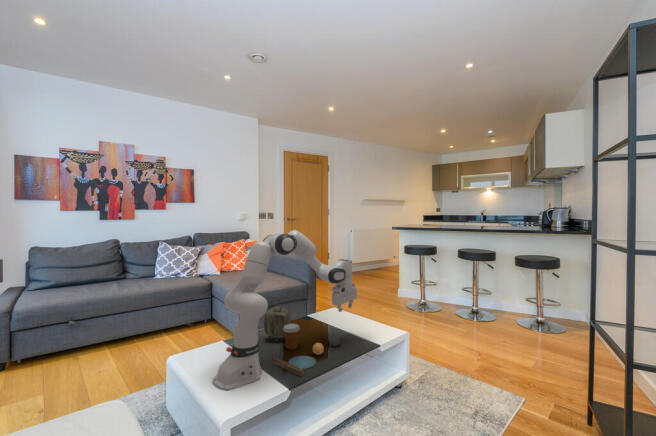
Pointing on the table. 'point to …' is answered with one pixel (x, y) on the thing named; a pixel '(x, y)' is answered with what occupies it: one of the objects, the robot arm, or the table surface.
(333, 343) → the dark gray ball
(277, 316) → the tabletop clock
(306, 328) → the table surface
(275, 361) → the stopper wall
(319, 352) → the orange ball
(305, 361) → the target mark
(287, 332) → the disposable coffee cup
